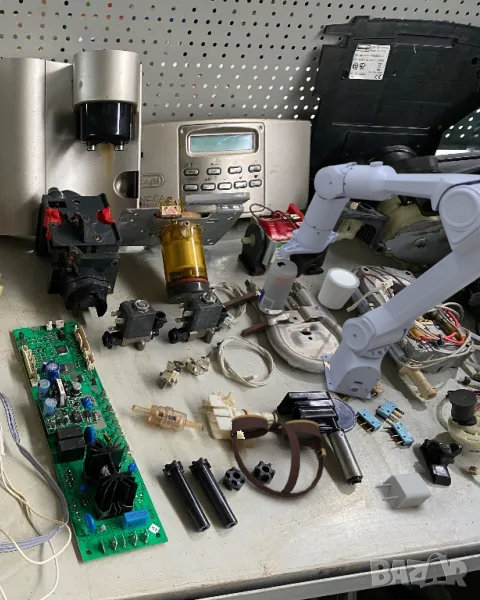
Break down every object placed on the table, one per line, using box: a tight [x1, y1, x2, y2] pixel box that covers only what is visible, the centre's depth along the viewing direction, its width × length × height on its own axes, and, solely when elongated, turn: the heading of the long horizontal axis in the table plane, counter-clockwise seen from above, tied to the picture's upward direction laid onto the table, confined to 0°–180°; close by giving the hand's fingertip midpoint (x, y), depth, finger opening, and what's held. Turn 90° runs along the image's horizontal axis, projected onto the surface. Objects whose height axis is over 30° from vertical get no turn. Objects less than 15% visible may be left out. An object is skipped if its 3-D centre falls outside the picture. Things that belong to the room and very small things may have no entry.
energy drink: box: [257, 258, 297, 315], centre depth 111 cm, size 5×5×12 cm
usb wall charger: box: [374, 472, 432, 509], centre depth 83 cm, size 4×7×4 cm, turn 99°
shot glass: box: [317, 267, 361, 310], centre depth 117 cm, size 7×7×7 cm
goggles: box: [229, 413, 327, 499], centre depth 84 cm, size 15×13×10 cm
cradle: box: [221, 288, 284, 339], centre depth 113 cm, size 13×9×2 cm
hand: (293, 275), depth 111 cm, fingers closed
